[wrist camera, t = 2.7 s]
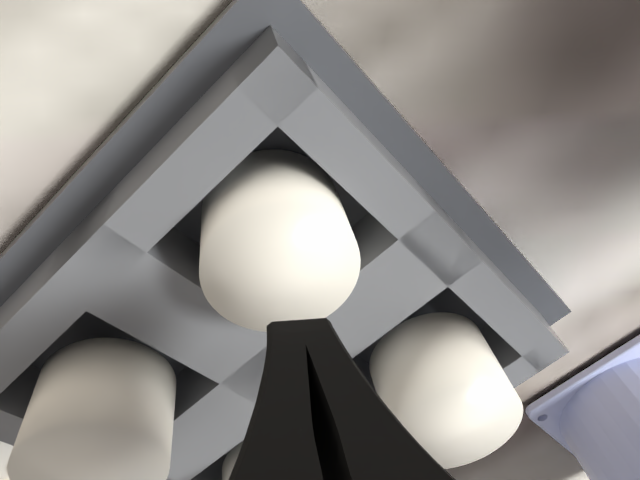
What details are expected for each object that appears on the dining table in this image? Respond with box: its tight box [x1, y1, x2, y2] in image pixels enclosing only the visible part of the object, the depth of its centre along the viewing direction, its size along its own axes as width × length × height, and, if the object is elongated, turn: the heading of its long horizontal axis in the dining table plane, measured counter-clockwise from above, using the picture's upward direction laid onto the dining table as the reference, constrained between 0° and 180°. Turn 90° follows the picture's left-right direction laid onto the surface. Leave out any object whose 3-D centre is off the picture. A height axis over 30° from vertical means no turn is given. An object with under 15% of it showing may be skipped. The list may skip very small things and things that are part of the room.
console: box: [0, 0, 571, 480], centre depth 20 cm, size 18×18×3 cm
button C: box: [199, 149, 361, 332], centre depth 16 cm, size 4×4×3 cm
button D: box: [7, 338, 177, 480], centre depth 17 cm, size 4×4×3 cm
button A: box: [369, 312, 523, 469], centre depth 18 cm, size 4×4×3 cm
